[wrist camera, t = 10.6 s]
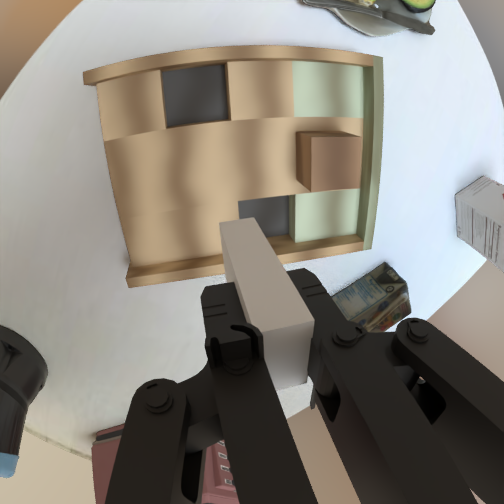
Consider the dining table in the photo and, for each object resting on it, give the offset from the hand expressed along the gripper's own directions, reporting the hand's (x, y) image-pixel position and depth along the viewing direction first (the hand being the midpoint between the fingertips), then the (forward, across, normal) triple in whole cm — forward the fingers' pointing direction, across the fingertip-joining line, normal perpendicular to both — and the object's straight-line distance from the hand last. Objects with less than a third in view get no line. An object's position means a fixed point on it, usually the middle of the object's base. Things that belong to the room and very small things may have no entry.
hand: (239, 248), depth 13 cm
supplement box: (+18, +43, -9) cm, 47 cm away
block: (+16, +11, 0) cm, 19 cm away
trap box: (+19, +5, 0) cm, 19 cm away
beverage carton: (+19, +17, -24) cm, 35 cm away
